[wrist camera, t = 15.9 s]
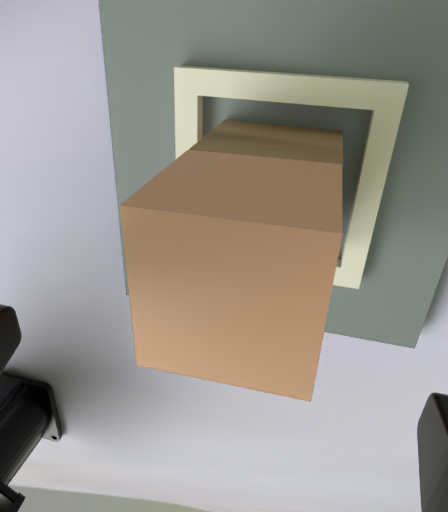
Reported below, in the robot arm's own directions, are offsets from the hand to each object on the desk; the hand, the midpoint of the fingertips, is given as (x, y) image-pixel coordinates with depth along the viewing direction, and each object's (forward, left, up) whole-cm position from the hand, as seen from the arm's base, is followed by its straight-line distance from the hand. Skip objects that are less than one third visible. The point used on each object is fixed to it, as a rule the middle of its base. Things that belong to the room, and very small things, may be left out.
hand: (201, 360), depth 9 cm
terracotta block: (0, 0, -7) cm, 7 cm away
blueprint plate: (0, 0, -13) cm, 13 cm away
